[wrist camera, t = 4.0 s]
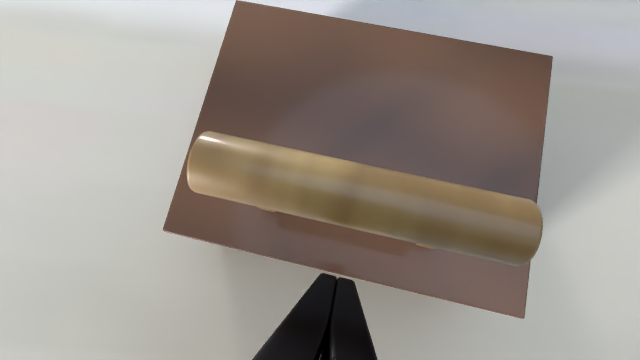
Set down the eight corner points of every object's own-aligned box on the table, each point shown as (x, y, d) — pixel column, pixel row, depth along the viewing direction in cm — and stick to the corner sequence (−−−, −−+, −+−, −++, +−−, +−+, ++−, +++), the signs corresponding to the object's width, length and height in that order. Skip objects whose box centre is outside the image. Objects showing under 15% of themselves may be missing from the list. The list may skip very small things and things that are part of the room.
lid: (512, 314, 13) (736, 395, 6) (171, 232, 14) (3, 212, 7) (541, 66, 15) (733, -105, 8) (240, 11, 16) (165, -181, 9)
